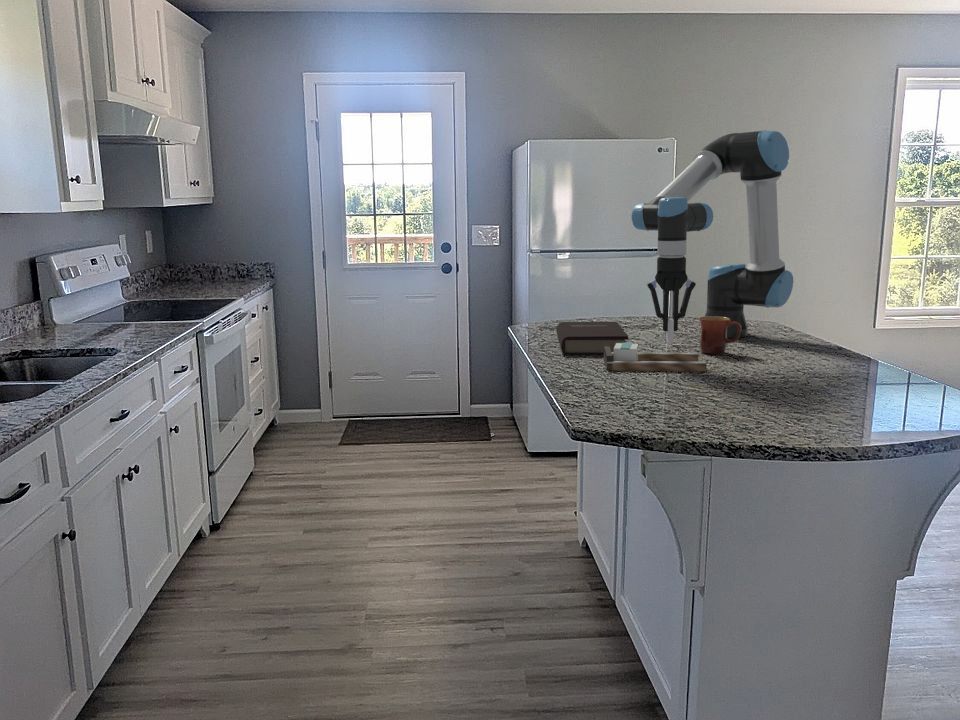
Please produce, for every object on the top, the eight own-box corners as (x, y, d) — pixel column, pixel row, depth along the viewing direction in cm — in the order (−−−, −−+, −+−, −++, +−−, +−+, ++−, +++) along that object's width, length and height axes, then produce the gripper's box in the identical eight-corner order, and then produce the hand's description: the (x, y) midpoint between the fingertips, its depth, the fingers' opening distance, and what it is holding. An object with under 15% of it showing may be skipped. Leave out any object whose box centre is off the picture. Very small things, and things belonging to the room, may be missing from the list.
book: (556, 339, 259) (556, 321, 258) (615, 339, 258) (616, 321, 257) (561, 356, 232) (561, 336, 230) (627, 356, 231) (628, 336, 230)
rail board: (697, 360, 221) (697, 346, 220) (706, 371, 208) (706, 356, 207) (603, 360, 223) (603, 346, 223) (606, 370, 210) (607, 355, 209)
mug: (694, 354, 230) (696, 319, 228) (700, 349, 238) (701, 315, 235) (737, 357, 225) (739, 321, 223) (741, 351, 233) (743, 317, 231)
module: (637, 363, 220) (638, 343, 219) (635, 369, 212) (636, 348, 211) (615, 362, 221) (616, 342, 220) (613, 368, 214) (613, 347, 213)
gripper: (694, 254, 213) (691, 339, 218) (645, 255, 214) (644, 340, 220) (699, 257, 206) (696, 345, 211) (648, 258, 207) (647, 346, 212)
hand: (669, 342), depth 215 cm, fingers closed
